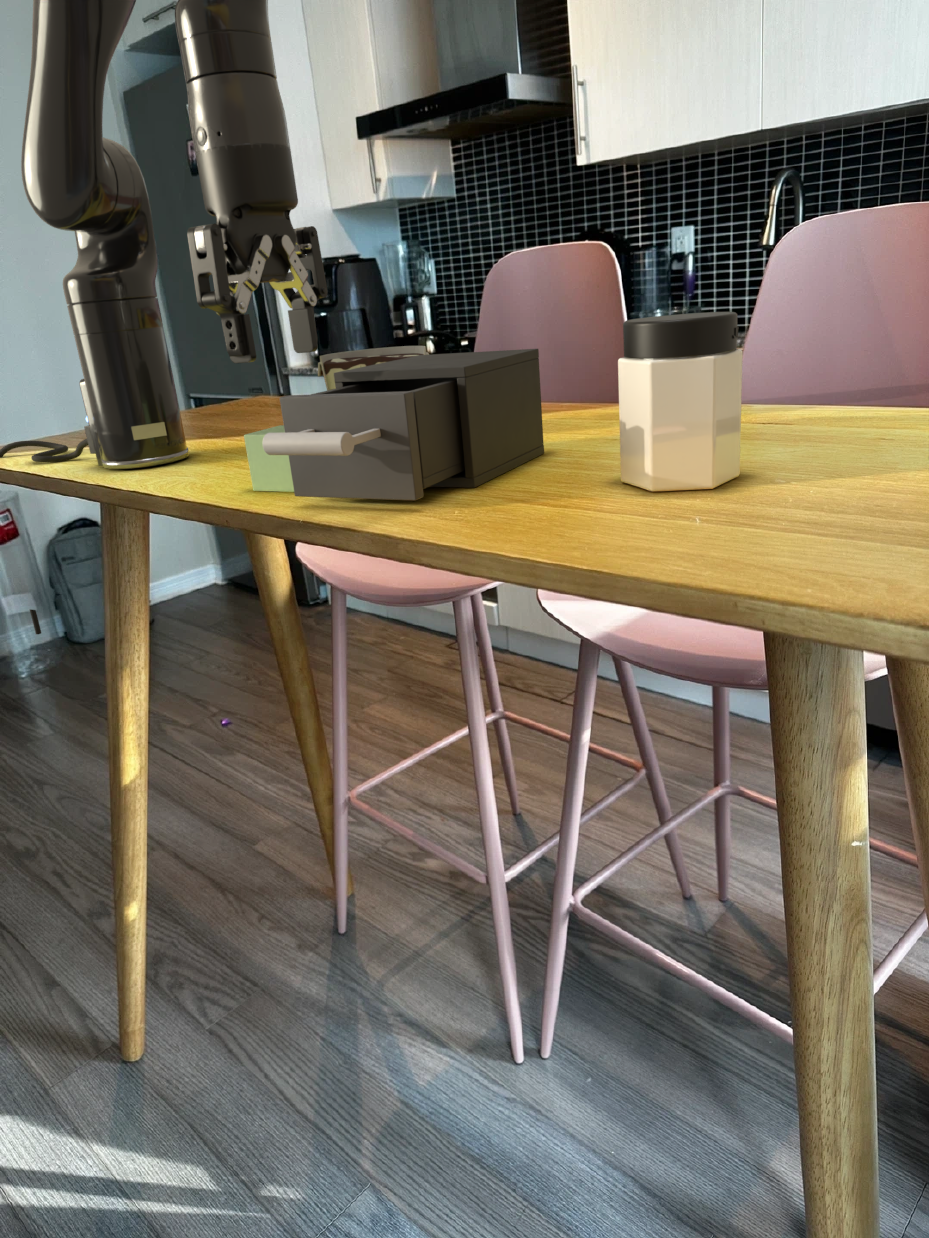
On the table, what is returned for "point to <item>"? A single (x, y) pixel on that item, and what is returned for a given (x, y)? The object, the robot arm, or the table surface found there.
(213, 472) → the table surface
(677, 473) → the jar
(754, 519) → the table surface
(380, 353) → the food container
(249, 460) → the block
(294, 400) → the pulled-out drawer
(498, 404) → the grey drawer unit
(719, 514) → the table surface
